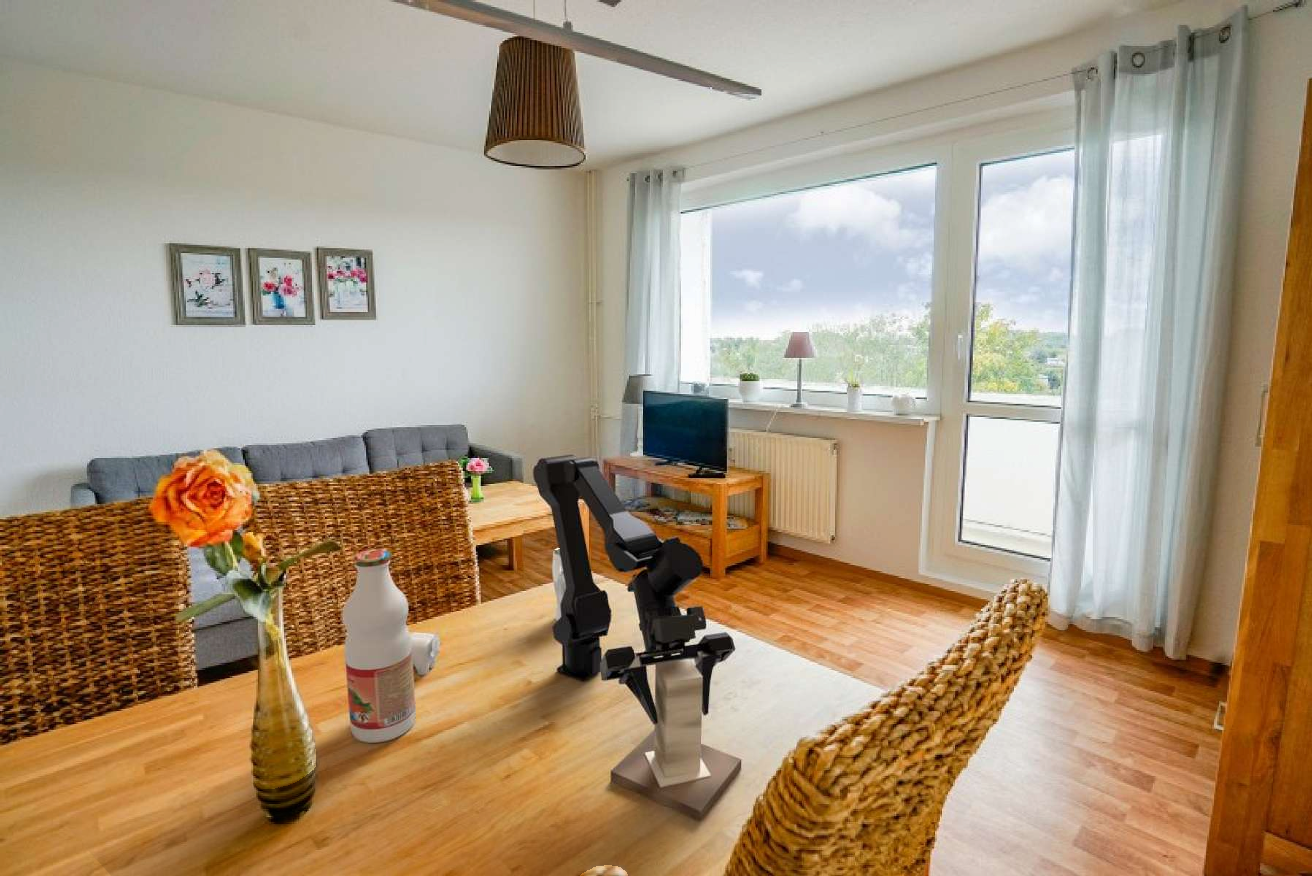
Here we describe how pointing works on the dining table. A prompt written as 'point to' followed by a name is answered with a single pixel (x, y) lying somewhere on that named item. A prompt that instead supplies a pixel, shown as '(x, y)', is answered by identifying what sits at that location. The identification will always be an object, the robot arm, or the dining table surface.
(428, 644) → the elephant figurine
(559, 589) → the beer glass
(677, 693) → the birch pillar block
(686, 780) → the walnut base board
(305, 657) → the dining table surface
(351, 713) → the fruit juice
